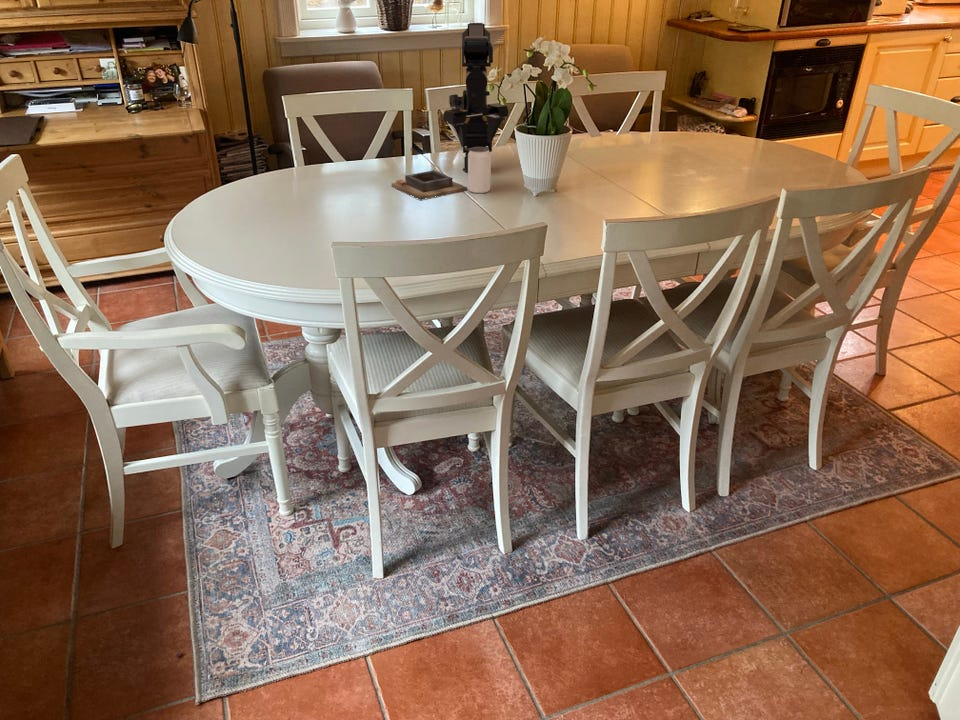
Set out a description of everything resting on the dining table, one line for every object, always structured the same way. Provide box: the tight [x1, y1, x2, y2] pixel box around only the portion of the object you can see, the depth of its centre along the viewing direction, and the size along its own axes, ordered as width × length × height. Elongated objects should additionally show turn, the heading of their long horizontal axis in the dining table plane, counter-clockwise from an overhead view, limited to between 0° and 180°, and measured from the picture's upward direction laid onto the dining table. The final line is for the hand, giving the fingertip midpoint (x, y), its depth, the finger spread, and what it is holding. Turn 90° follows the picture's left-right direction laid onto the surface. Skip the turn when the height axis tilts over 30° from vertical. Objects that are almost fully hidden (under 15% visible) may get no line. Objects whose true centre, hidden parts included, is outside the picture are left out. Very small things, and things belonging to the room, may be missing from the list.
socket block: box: [391, 169, 468, 200], centre depth 220 cm, size 16×16×4 cm
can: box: [467, 146, 492, 194], centre depth 216 cm, size 6×6×12 cm
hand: (476, 144), depth 213 cm, fingers open, 9 cm apart
